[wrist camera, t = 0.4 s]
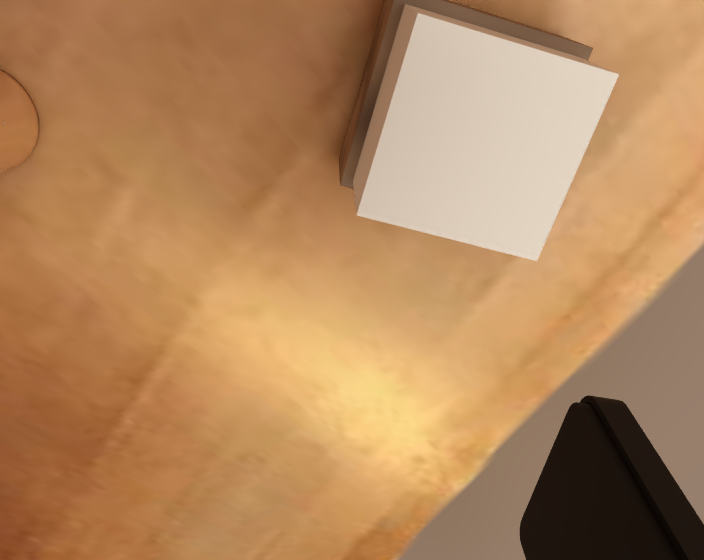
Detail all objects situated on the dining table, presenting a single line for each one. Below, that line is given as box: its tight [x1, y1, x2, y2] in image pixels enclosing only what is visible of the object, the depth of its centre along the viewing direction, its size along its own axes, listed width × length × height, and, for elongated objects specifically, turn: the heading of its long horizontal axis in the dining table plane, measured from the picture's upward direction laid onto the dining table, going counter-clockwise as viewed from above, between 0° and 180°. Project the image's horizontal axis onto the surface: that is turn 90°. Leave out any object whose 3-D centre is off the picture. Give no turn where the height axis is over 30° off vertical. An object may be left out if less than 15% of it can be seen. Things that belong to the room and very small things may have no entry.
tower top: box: [353, 4, 619, 261], centre depth 32 cm, size 9×9×5 cm
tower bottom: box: [339, 0, 593, 189], centre depth 36 cm, size 10×10×5 cm
